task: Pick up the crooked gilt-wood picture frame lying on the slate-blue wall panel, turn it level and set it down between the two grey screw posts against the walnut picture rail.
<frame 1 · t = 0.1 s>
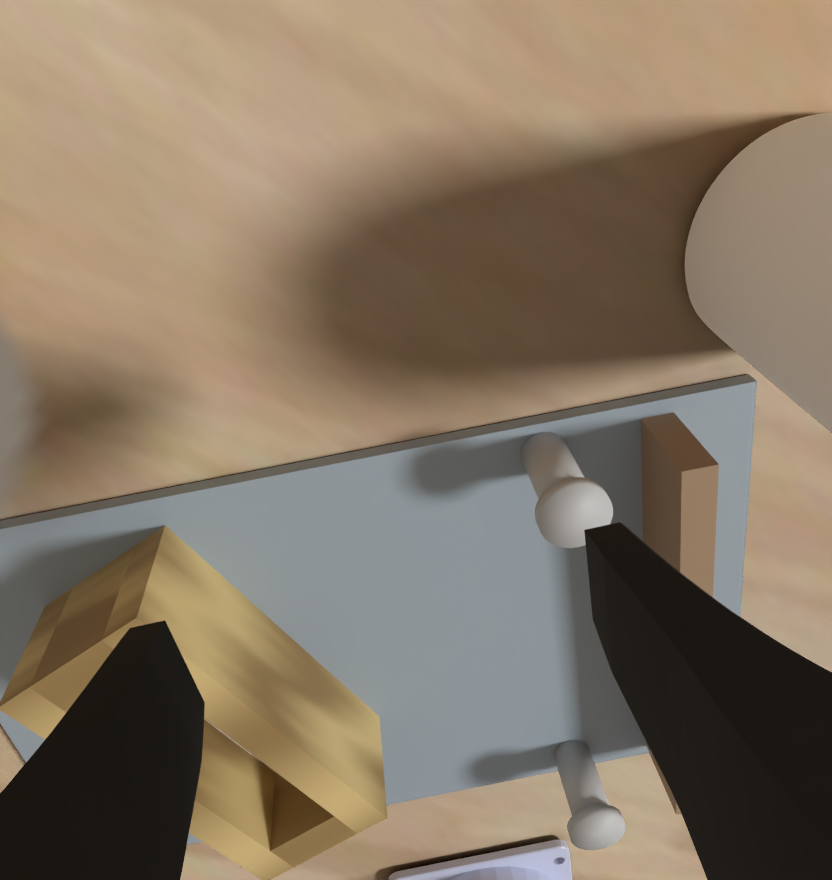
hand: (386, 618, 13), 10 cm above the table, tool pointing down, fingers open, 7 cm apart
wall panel: (374, 647, 27), on the table
frame: (225, 666, 26), resting on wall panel
can: (788, 235, 21), on the table
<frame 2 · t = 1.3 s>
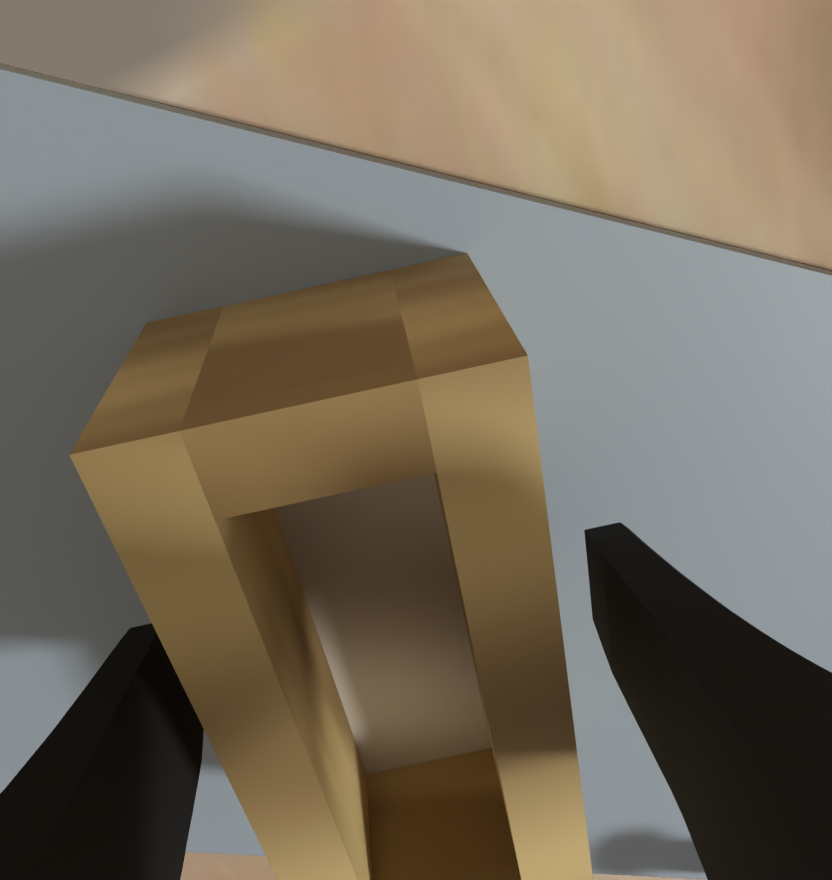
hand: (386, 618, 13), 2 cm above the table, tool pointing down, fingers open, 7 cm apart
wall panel: (598, 618, 16), on the table
frame: (381, 565, 14), resting on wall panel
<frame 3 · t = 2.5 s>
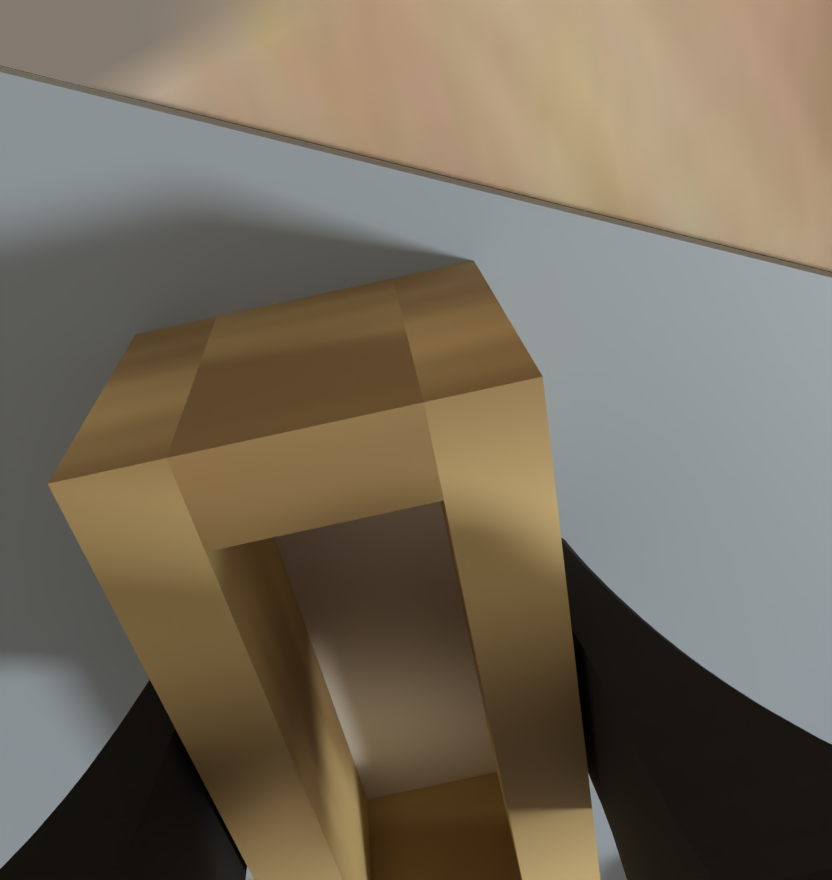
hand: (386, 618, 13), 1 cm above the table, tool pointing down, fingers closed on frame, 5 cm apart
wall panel: (607, 636, 16), on the table
frame: (383, 584, 14), resting on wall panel, touching gripper
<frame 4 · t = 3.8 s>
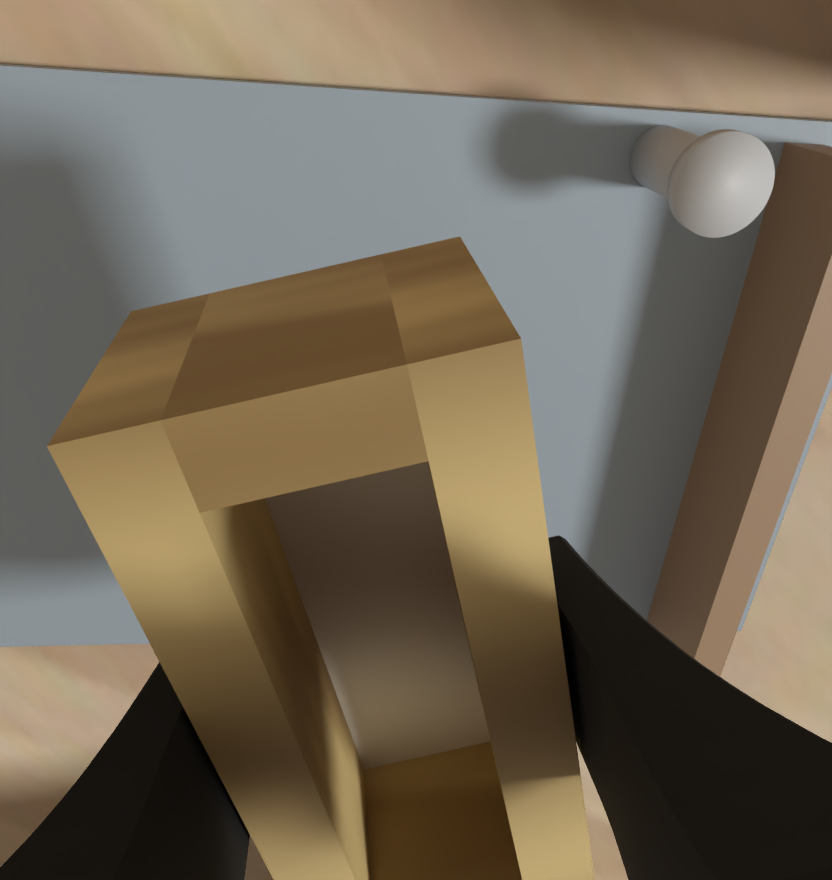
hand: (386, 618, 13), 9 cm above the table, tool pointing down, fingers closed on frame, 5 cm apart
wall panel: (368, 408, 21), on the table
frame: (376, 557, 14), point 7 cm above the table, touching gripper
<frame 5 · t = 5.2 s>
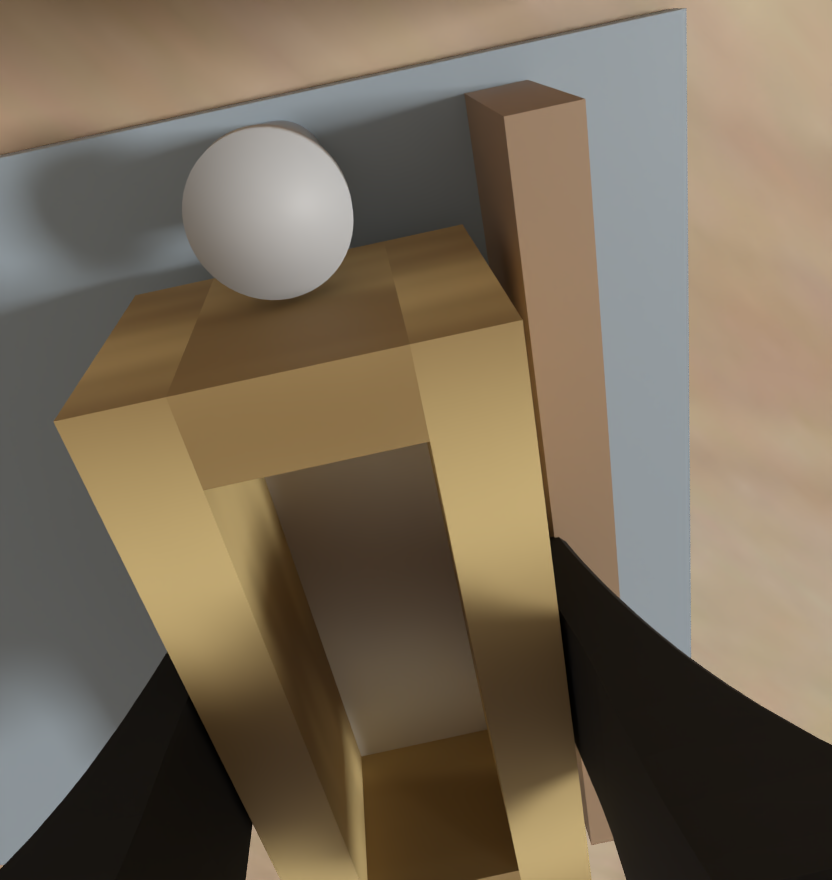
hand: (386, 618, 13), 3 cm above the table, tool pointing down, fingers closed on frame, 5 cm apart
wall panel: (71, 573, 16), on the table
frame: (376, 544, 14), point 2 cm above the table, touching gripper
when the fingers open (3 cm above the table, at t = 7.1 s): frame stays where it is, resting on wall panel.
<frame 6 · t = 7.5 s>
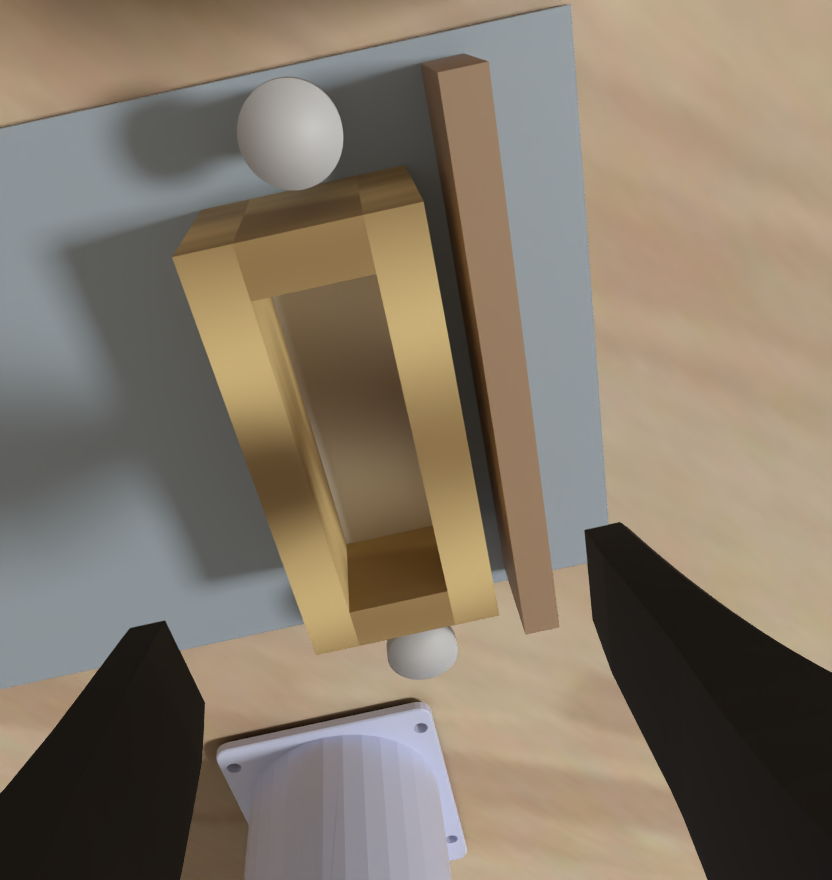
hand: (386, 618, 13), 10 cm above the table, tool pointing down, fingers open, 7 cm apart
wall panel: (136, 425, 21), on the table
frame: (355, 389, 21), resting on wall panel
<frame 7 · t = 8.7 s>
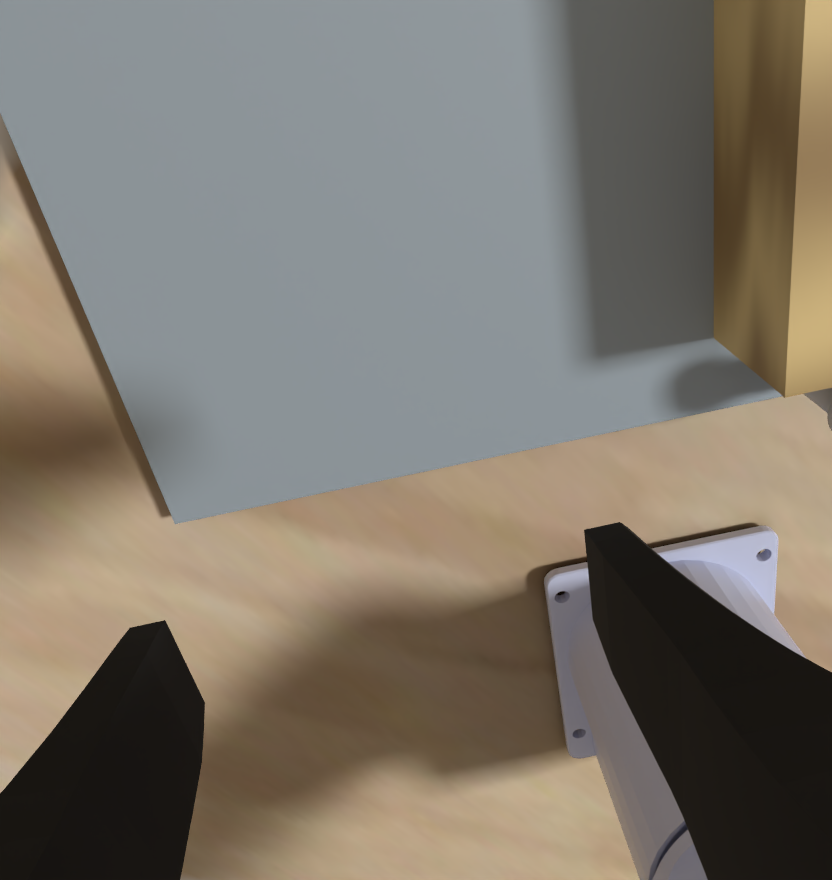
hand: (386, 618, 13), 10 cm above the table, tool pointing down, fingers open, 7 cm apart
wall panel: (562, 162, 20), on the table
frame: (811, 117, 19), resting on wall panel
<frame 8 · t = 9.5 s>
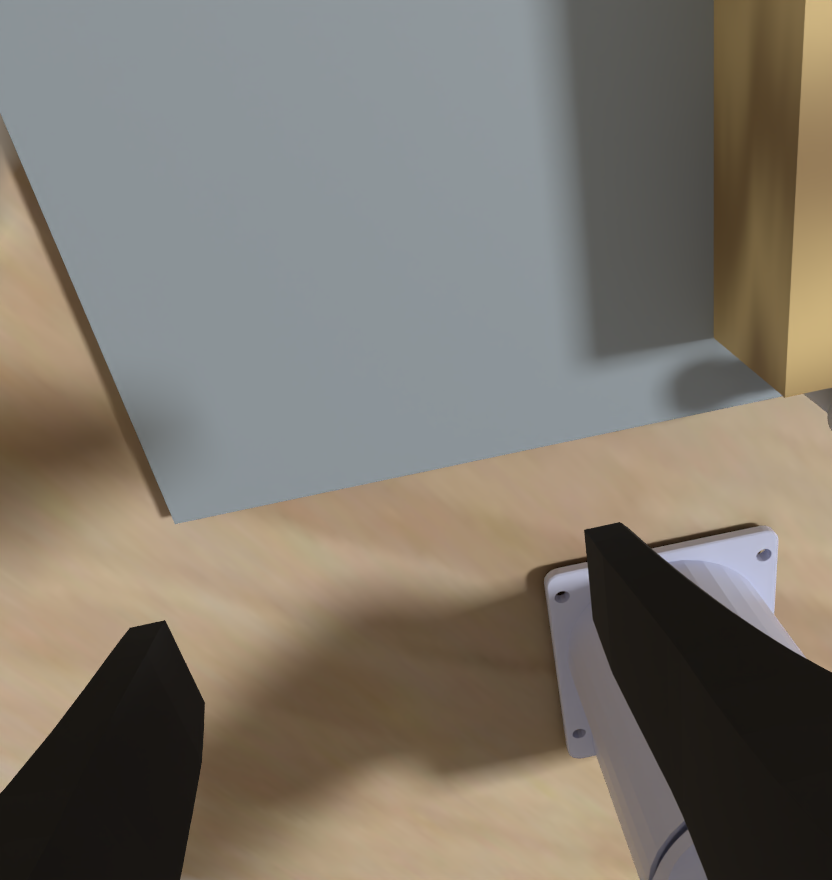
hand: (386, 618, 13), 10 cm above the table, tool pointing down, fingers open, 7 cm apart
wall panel: (562, 162, 20), on the table
frame: (811, 117, 19), resting on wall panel
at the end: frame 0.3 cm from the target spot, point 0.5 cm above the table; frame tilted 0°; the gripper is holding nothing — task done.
